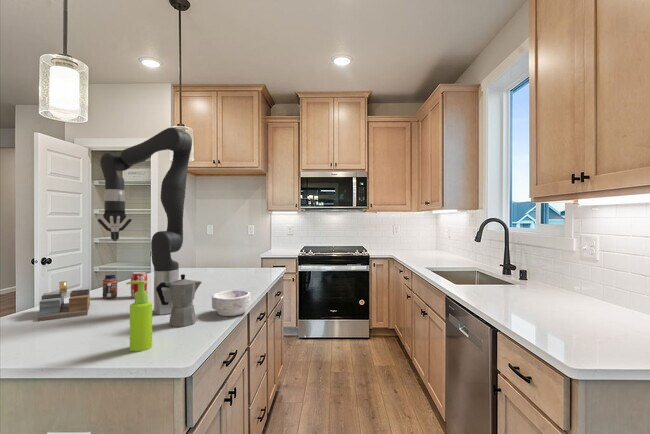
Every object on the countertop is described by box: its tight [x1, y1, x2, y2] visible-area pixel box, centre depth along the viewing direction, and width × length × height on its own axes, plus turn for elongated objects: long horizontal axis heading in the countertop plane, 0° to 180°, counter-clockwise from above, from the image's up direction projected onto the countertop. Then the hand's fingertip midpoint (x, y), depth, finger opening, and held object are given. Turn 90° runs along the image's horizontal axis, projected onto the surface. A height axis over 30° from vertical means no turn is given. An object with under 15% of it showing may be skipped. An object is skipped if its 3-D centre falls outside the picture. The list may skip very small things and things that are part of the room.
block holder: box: [37, 288, 91, 322], centre depth 138 cm, size 20×15×8 cm
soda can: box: [130, 271, 148, 299], centre depth 164 cm, size 7×7×12 cm
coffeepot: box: [156, 273, 203, 328], centre depth 123 cm, size 15×9×18 cm, turn 116°
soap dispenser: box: [125, 280, 153, 352], centre depth 101 cm, size 6×7×20 cm
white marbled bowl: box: [211, 289, 252, 317], centre depth 137 cm, size 15×15×8 cm
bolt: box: [43, 280, 68, 298], centre depth 136 cm, size 3×7×6 cm, turn 122°
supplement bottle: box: [102, 273, 118, 300], centre depth 162 cm, size 6×6×11 cm
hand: (115, 240), depth 145 cm, fingers closed
